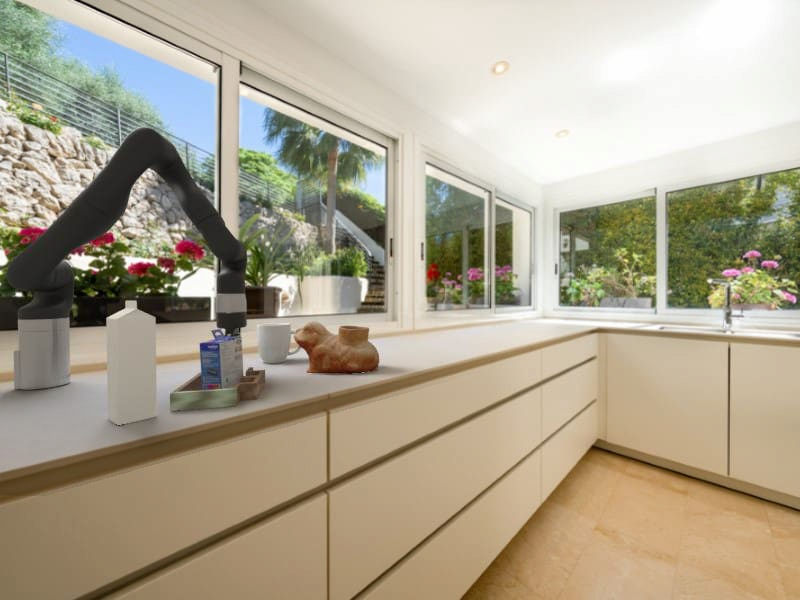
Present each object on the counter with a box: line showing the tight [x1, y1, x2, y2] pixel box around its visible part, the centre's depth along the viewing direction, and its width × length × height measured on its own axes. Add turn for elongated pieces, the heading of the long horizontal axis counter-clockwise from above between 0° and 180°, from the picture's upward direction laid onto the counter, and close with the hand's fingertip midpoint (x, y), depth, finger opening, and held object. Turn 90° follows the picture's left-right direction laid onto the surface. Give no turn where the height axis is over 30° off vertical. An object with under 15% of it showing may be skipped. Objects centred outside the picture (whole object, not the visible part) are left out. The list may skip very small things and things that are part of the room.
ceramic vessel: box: [293, 320, 380, 375], centre depth 107 cm, size 14×26×15 cm, turn 87°
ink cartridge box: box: [199, 328, 244, 390], centre depth 85 cm, size 10×6×14 cm, turn 176°
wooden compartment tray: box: [169, 366, 266, 412], centre depth 82 cm, size 16×23×4 cm
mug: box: [256, 322, 302, 364], centre depth 121 cm, size 15×11×13 cm
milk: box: [105, 300, 158, 426], centre depth 65 cm, size 6×6×22 cm
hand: (232, 373), depth 96 cm, fingers closed
